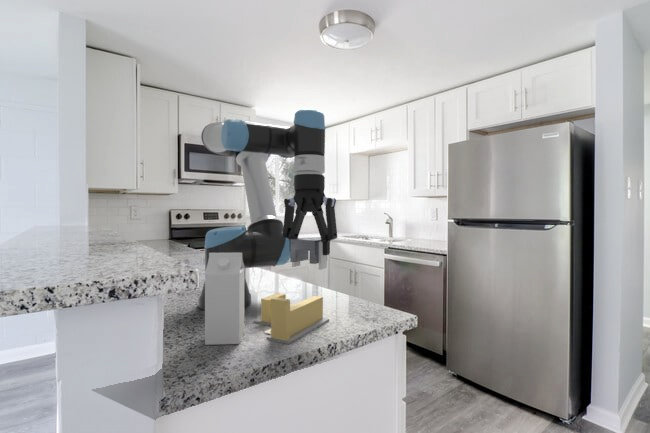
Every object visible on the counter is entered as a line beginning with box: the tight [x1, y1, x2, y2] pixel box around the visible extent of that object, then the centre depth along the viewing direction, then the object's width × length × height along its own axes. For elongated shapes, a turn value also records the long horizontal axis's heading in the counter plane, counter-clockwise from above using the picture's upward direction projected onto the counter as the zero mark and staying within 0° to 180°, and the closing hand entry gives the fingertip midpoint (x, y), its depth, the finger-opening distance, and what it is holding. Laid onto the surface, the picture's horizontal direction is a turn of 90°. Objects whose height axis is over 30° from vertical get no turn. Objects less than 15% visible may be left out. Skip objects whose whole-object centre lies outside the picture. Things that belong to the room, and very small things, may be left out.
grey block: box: [289, 237, 321, 265], centre depth 84 cm, size 7×6×6 cm
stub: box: [252, 292, 287, 327], centre depth 89 cm, size 6×9×6 cm, turn 151°
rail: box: [266, 295, 330, 345], centre depth 82 cm, size 6×18×9 cm, turn 151°
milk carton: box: [204, 253, 245, 346], centre depth 75 cm, size 7×7×19 cm
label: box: [263, 328, 271, 335], centre depth 81 cm, size 3×6×1 cm, turn 151°
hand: (309, 267), depth 85 cm, fingers closed on grey block, 7 cm apart
